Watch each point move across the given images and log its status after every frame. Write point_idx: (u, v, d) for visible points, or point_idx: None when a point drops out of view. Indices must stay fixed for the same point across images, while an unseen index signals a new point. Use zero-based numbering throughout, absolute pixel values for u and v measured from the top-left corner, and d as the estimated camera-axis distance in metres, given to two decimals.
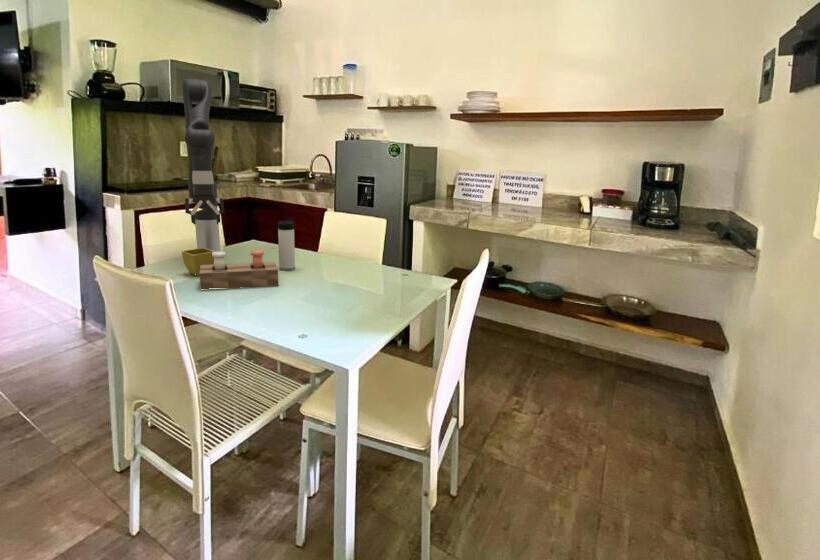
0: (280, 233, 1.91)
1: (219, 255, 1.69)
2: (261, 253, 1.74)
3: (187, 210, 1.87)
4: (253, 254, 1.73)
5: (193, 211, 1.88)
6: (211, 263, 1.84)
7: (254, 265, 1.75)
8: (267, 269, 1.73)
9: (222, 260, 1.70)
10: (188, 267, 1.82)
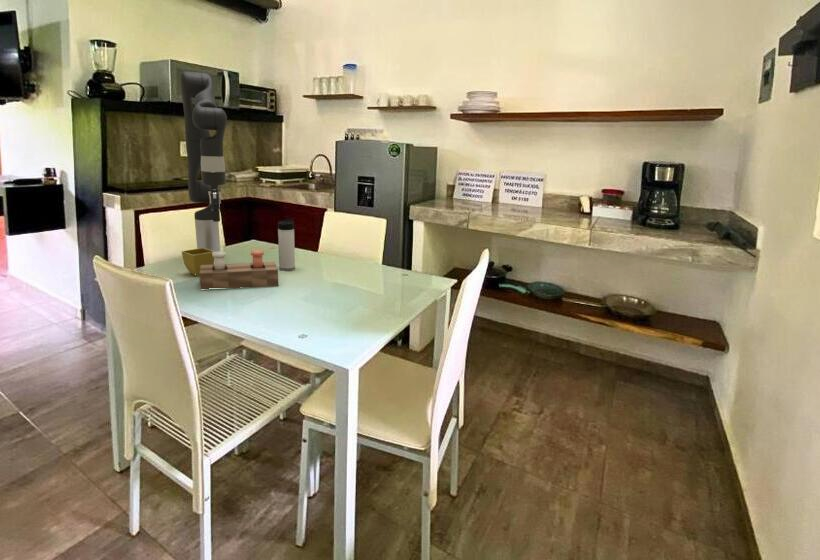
0: (280, 233, 1.91)
1: (219, 255, 1.69)
2: (261, 253, 1.74)
3: None
4: (253, 254, 1.73)
5: None
6: (211, 263, 1.84)
7: (254, 265, 1.75)
8: (267, 269, 1.73)
9: (222, 260, 1.70)
10: (188, 267, 1.82)
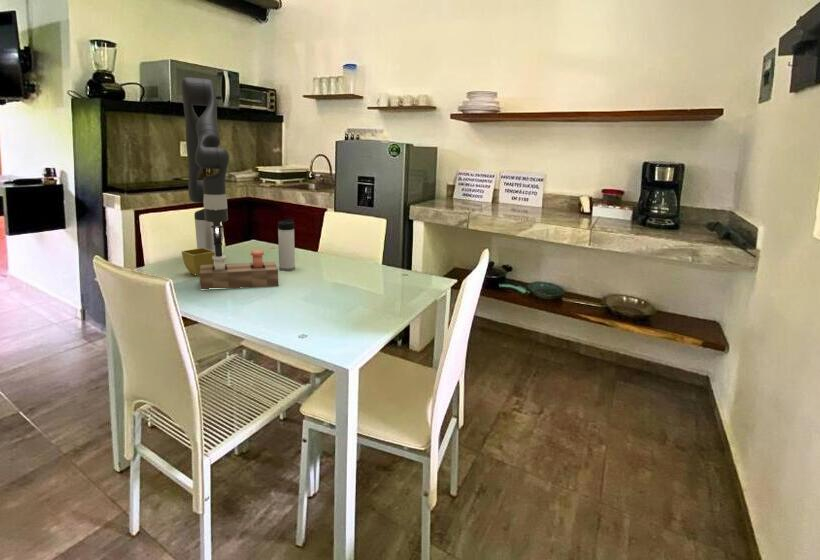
0: (280, 233, 1.91)
1: (219, 258, 1.69)
2: (261, 253, 1.74)
3: None
4: (253, 254, 1.73)
5: None
6: (211, 263, 1.84)
7: (254, 265, 1.75)
8: (267, 269, 1.73)
9: (222, 263, 1.71)
10: (188, 267, 1.82)
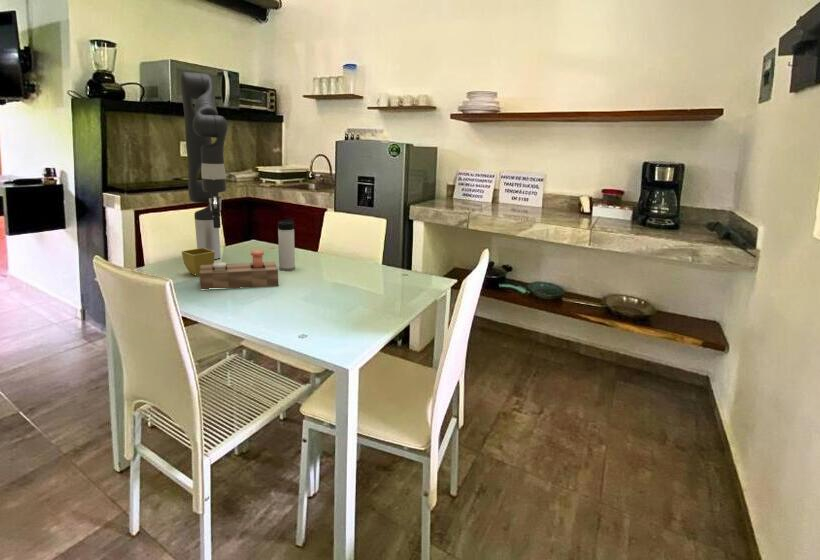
0: (280, 233, 1.91)
1: (220, 266, 1.70)
2: (261, 253, 1.74)
3: None
4: (253, 254, 1.73)
5: None
6: (211, 263, 1.84)
7: (254, 265, 1.75)
8: (267, 269, 1.73)
9: None
10: (188, 267, 1.82)
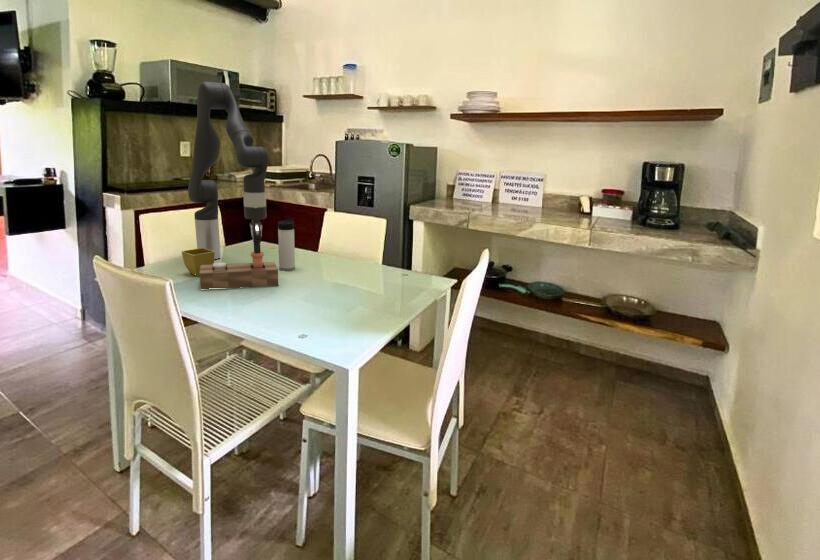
0: (280, 233, 1.91)
1: (220, 266, 1.70)
2: (261, 254, 1.74)
3: (260, 238, 1.72)
4: (253, 255, 1.73)
5: None
6: (211, 263, 1.84)
7: (254, 267, 1.75)
8: (267, 269, 1.73)
9: None
10: (188, 267, 1.82)
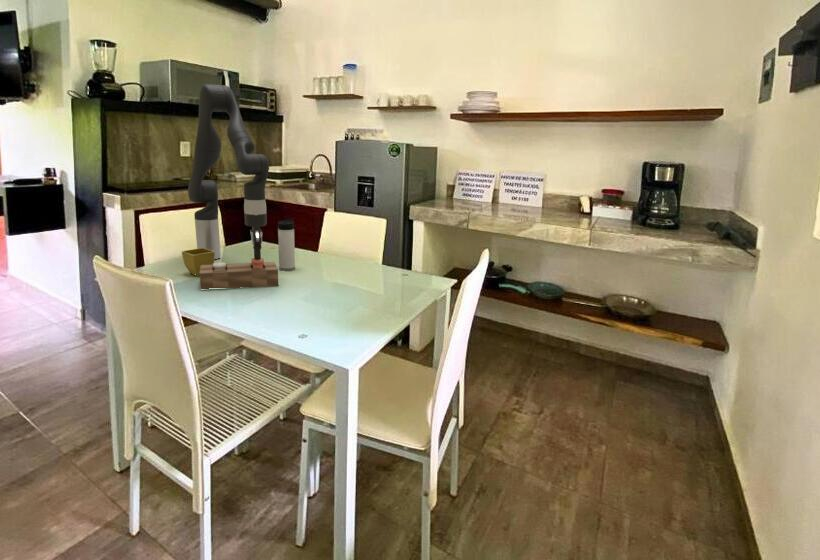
0: (280, 233, 1.91)
1: (220, 266, 1.70)
2: (261, 261, 1.75)
3: (260, 245, 1.72)
4: (253, 262, 1.74)
5: (260, 245, 1.74)
6: (211, 263, 1.84)
7: None
8: (267, 269, 1.73)
9: None
10: (188, 267, 1.82)
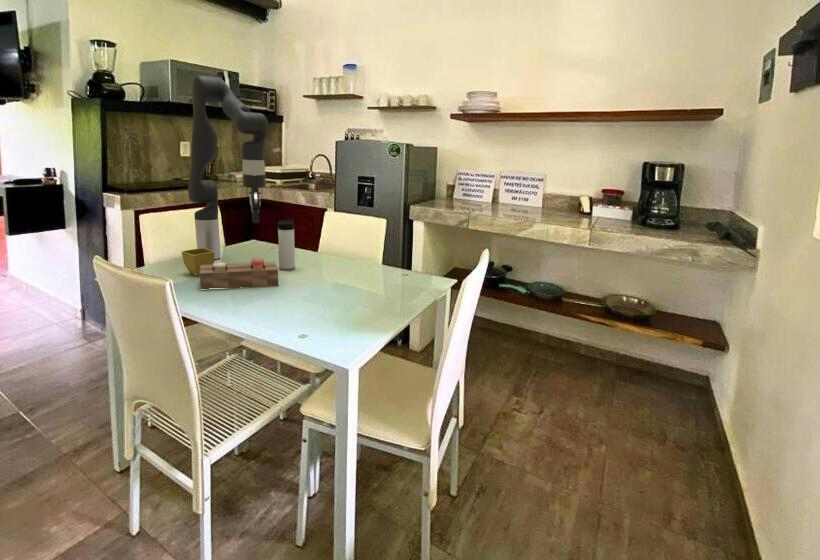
0: (280, 233, 1.91)
1: (220, 266, 1.70)
2: (261, 261, 1.75)
3: None
4: (253, 262, 1.74)
5: None
6: (211, 263, 1.84)
7: None
8: (267, 269, 1.73)
9: None
10: (188, 267, 1.82)
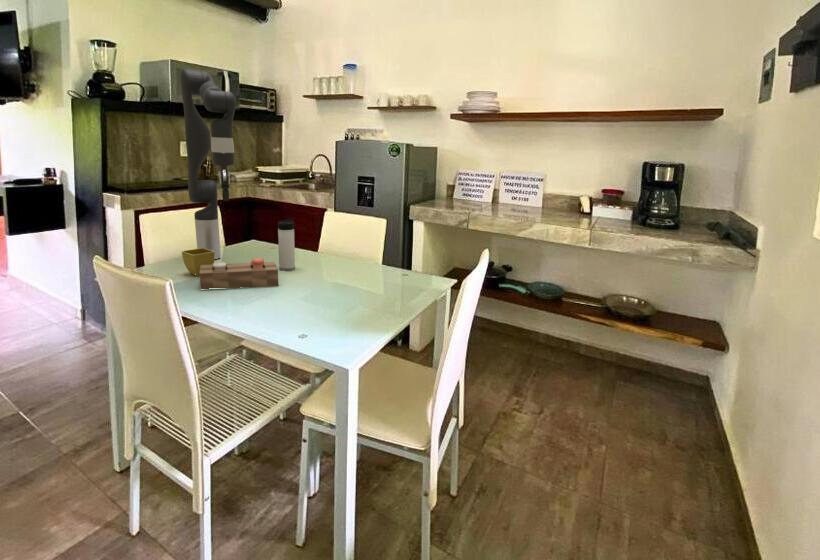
0: (280, 233, 1.91)
1: (220, 266, 1.70)
2: (261, 261, 1.75)
3: (228, 185, 1.72)
4: (253, 262, 1.74)
5: None
6: (211, 263, 1.84)
7: None
8: (267, 269, 1.73)
9: None
10: (188, 267, 1.82)
